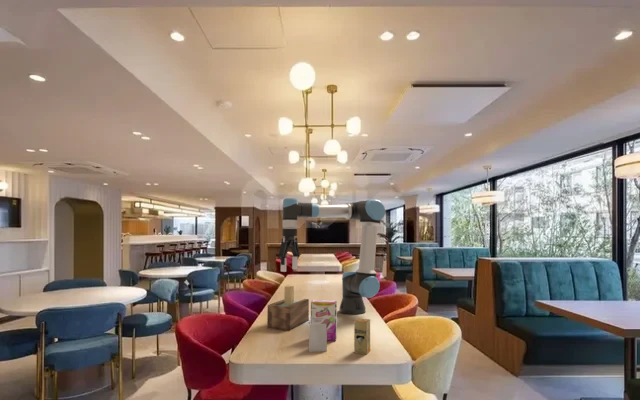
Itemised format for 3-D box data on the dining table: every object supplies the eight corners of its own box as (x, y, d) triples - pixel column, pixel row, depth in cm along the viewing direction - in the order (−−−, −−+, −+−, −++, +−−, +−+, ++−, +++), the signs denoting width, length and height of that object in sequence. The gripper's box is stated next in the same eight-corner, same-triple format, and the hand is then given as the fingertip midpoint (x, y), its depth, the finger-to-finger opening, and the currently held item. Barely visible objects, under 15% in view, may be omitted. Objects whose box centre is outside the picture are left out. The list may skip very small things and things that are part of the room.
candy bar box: (310, 340, 168) (310, 301, 170) (311, 337, 173) (311, 299, 175) (336, 341, 167) (336, 302, 169) (337, 338, 172) (337, 300, 174)
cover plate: (304, 305, 207) (304, 284, 207) (288, 312, 188) (288, 289, 189) (289, 304, 210) (289, 283, 210) (272, 311, 191) (272, 288, 192)
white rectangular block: (326, 351, 154) (326, 325, 155) (309, 351, 153) (309, 325, 154) (325, 348, 157) (325, 322, 158) (308, 348, 157) (308, 323, 158)
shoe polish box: (358, 349, 156) (358, 318, 157) (370, 350, 154) (370, 319, 155) (354, 352, 152) (354, 320, 153) (366, 354, 150) (366, 322, 151)
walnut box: (308, 320, 207) (308, 299, 208) (290, 330, 185) (290, 306, 186) (287, 318, 211) (288, 297, 212) (267, 328, 190) (267, 305, 190)
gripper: (293, 228, 215) (292, 268, 213) (271, 228, 192) (271, 272, 190) (306, 228, 212) (305, 268, 211) (285, 228, 189) (285, 273, 187)
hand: (289, 270), depth 200 cm, fingers open, 13 cm apart
